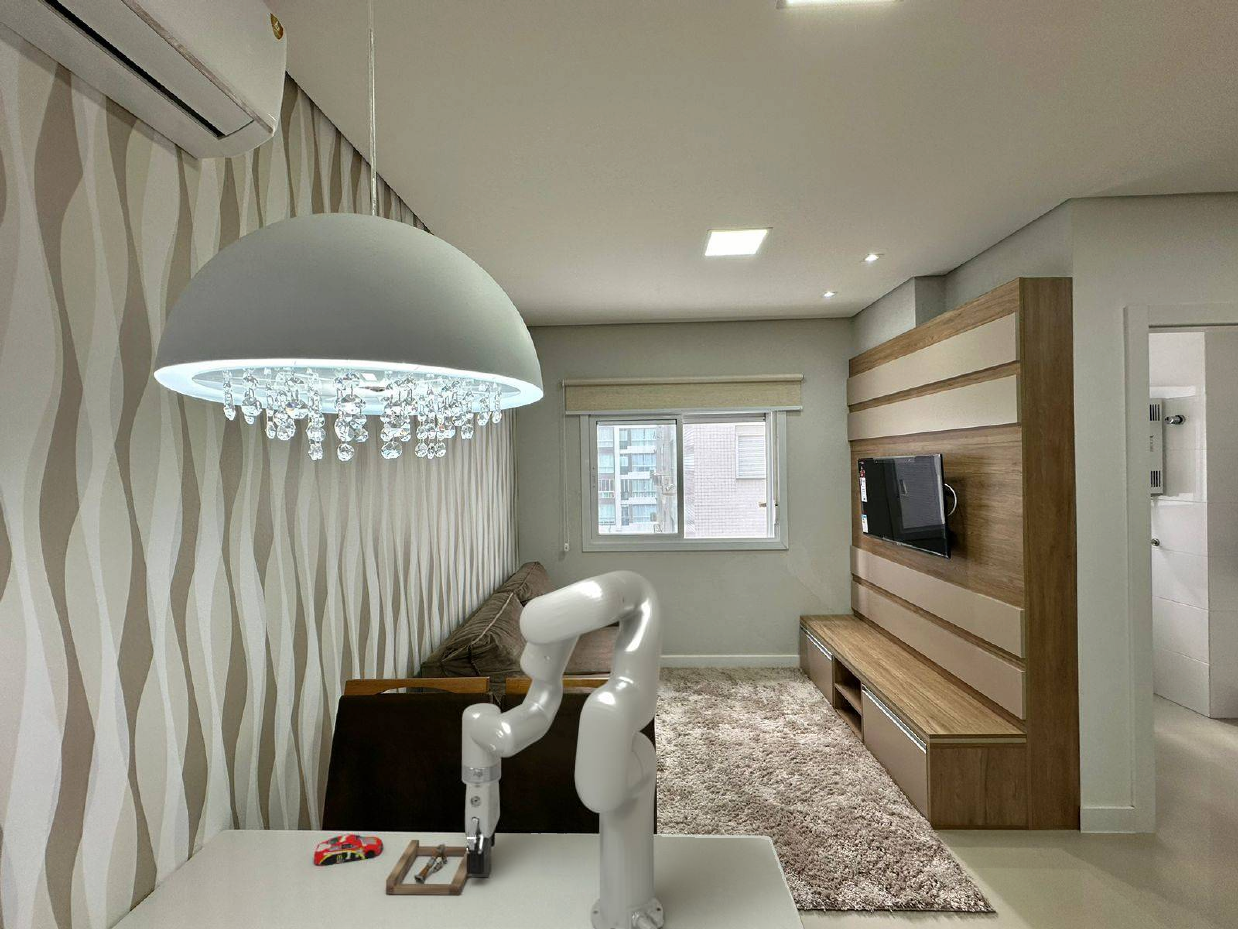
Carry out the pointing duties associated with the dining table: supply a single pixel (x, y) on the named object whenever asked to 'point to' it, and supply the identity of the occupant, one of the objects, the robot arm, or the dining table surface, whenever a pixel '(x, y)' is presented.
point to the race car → (347, 849)
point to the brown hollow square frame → (445, 889)
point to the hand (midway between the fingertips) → (481, 859)
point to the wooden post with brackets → (431, 862)
